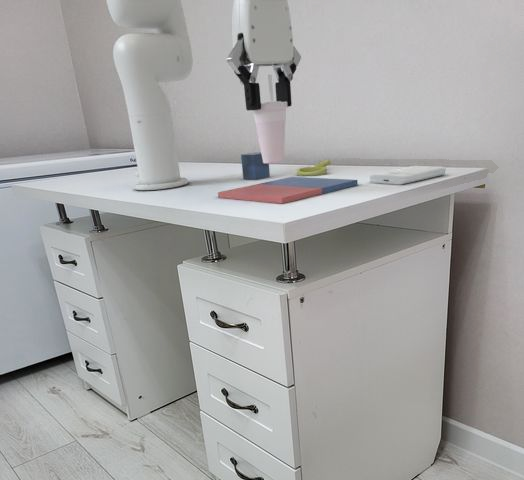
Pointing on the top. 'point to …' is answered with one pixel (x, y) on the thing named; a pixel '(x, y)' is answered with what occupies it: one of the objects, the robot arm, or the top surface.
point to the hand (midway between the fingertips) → (269, 107)
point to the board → (287, 189)
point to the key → (314, 169)
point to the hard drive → (407, 175)
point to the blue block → (254, 166)
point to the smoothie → (271, 128)
